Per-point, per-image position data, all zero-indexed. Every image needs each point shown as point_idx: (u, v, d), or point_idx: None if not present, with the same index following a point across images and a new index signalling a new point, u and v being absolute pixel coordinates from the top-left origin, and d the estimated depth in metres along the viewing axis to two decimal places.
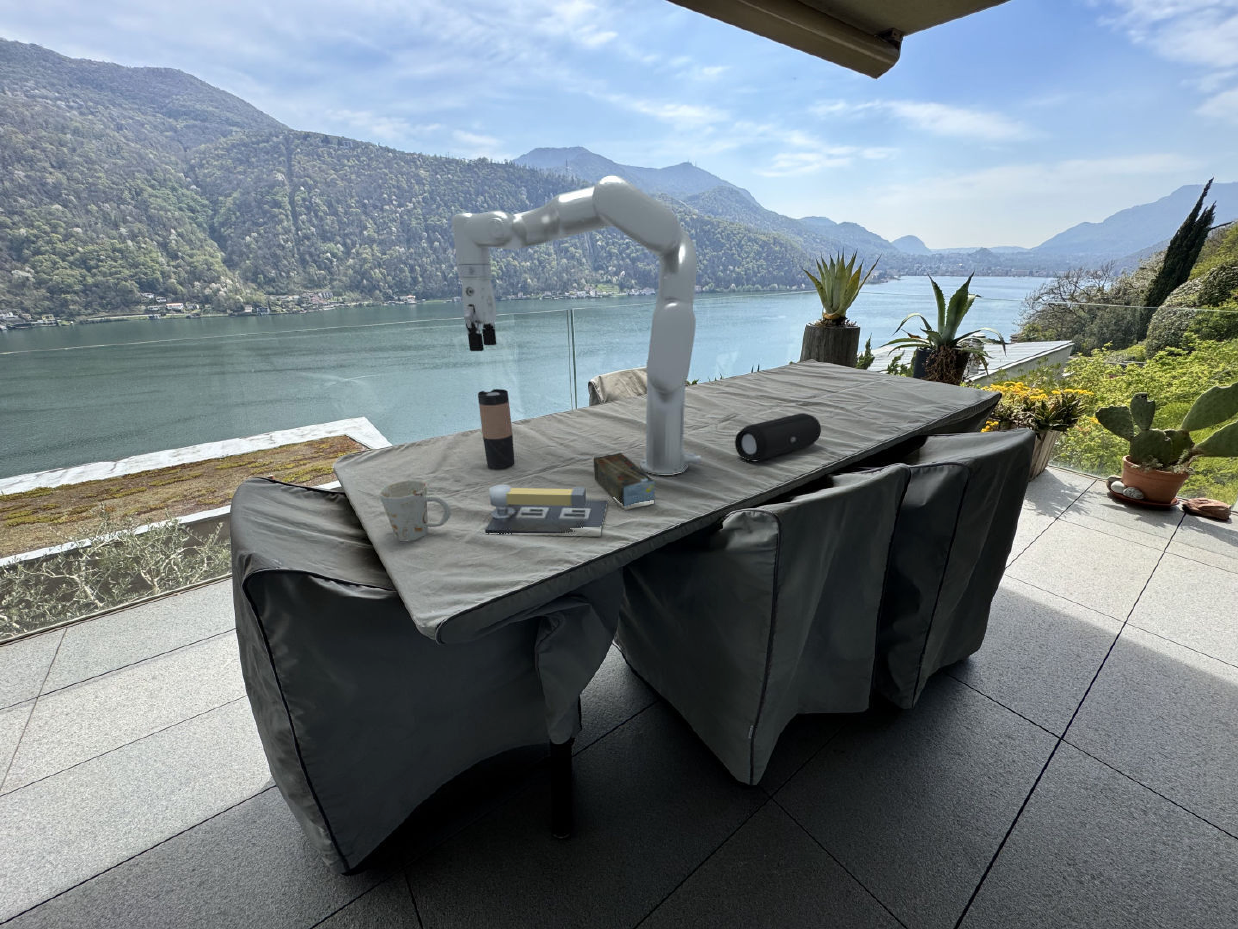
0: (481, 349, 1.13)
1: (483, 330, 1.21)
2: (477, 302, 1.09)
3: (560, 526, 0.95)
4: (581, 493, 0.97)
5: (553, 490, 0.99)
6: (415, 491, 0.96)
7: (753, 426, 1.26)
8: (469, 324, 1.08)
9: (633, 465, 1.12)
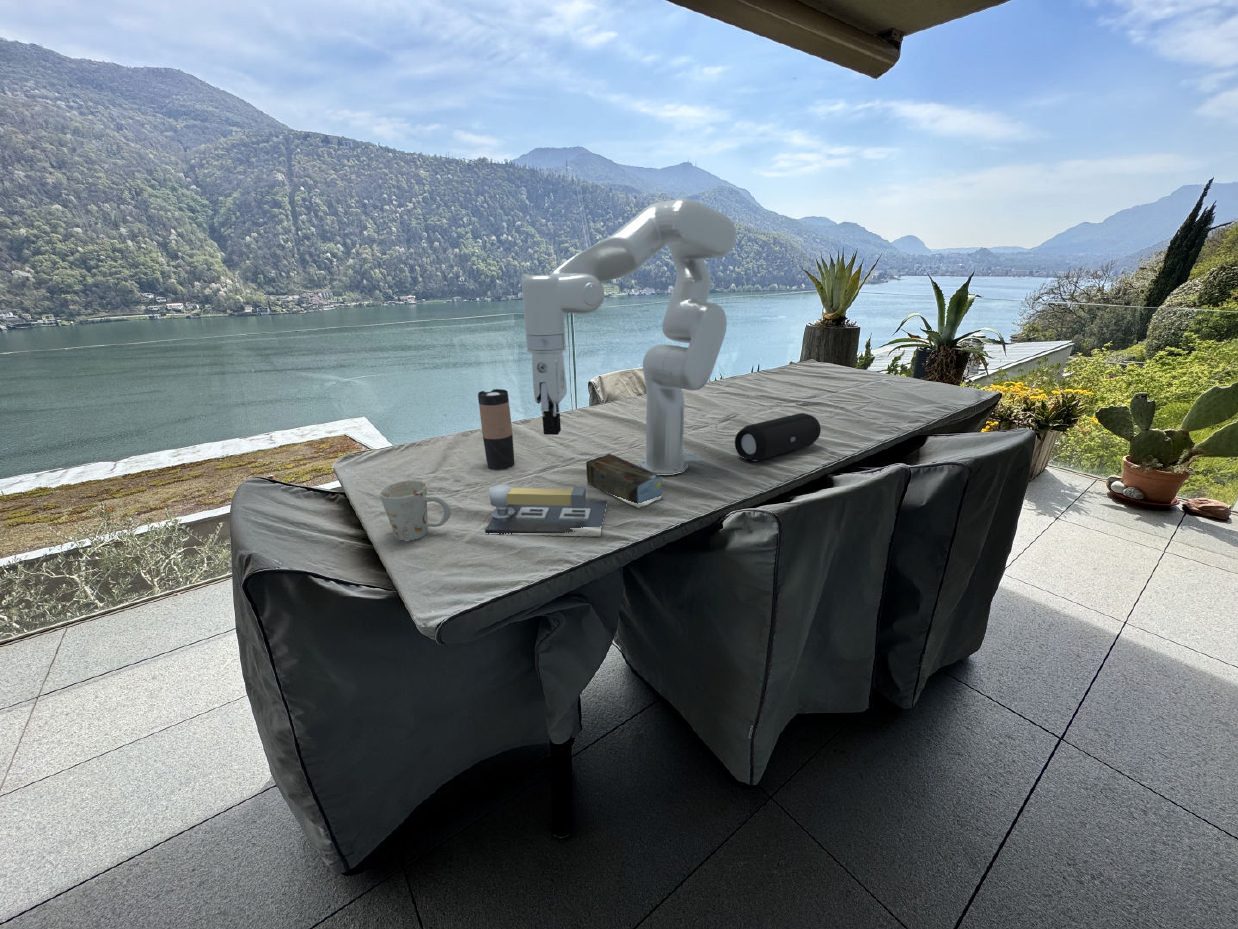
0: (557, 433, 0.99)
1: None
2: (550, 380, 0.91)
3: (560, 526, 0.95)
4: (581, 493, 0.97)
5: (553, 490, 0.99)
6: (415, 491, 0.96)
7: (753, 426, 1.26)
8: (547, 411, 0.94)
9: (631, 464, 1.13)
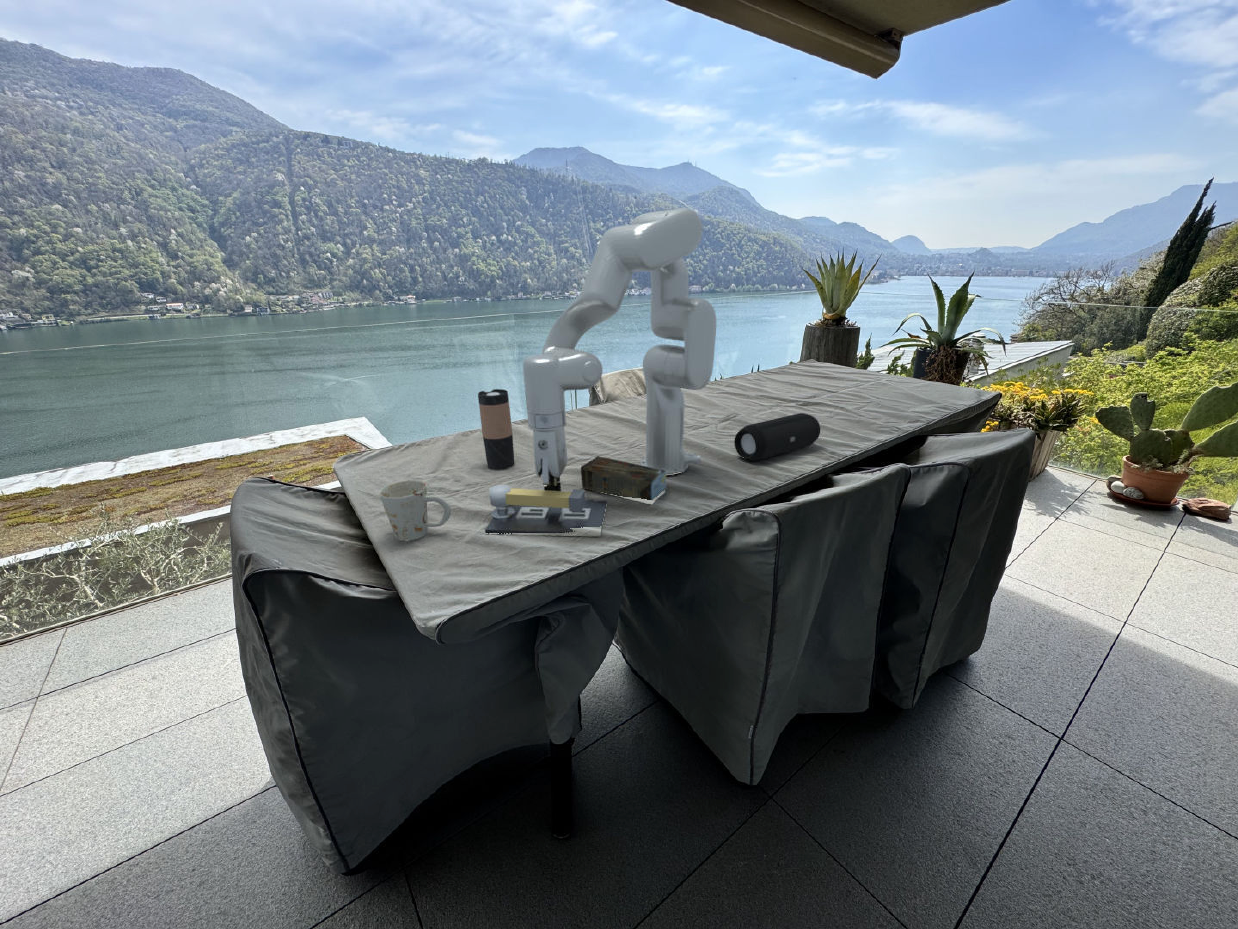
0: None
1: None
2: (551, 456, 0.93)
3: (560, 526, 0.95)
4: (579, 496, 0.95)
5: (552, 492, 0.98)
6: (415, 491, 0.96)
7: (753, 426, 1.26)
8: None
9: (628, 463, 1.13)
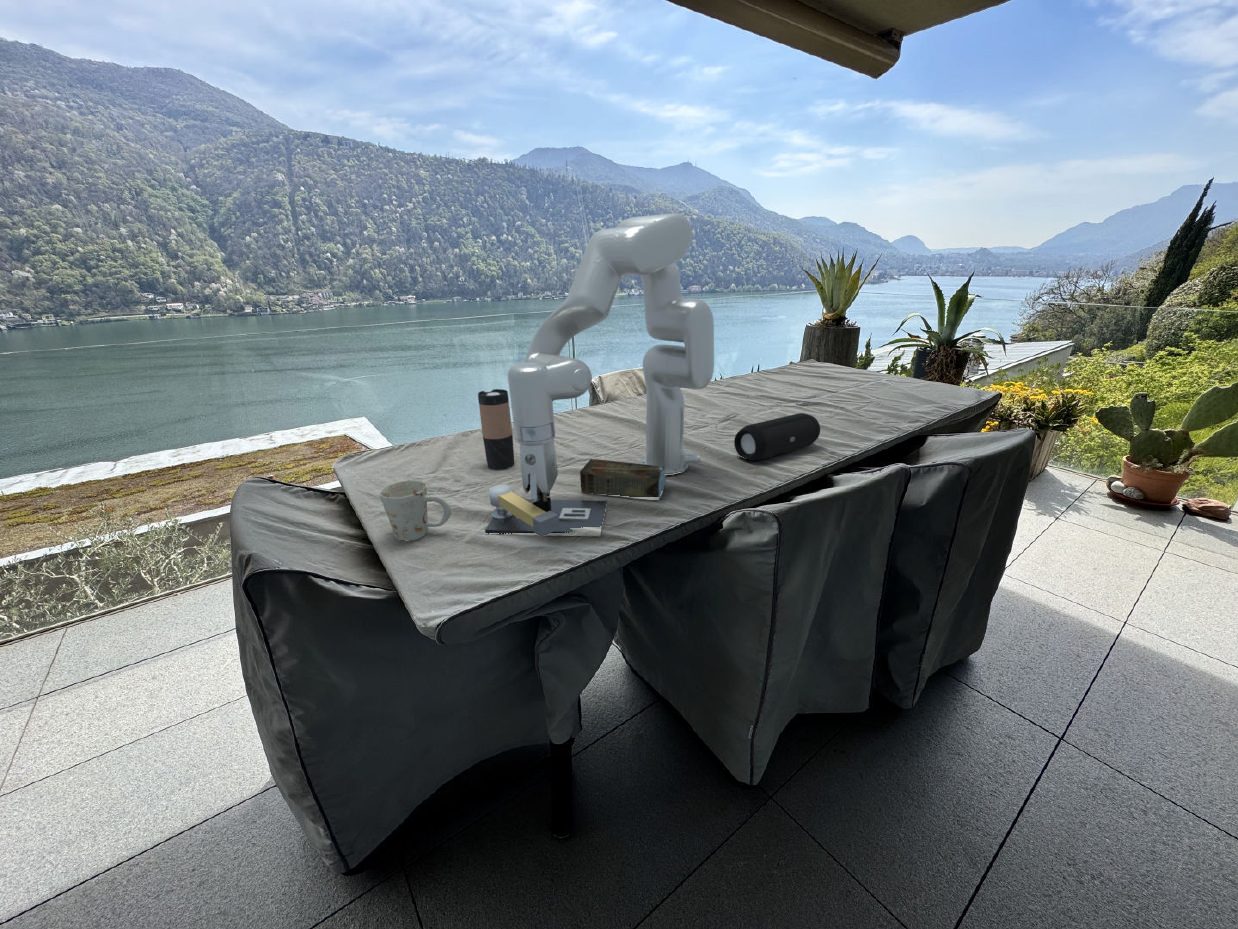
0: None
1: None
2: (539, 471, 0.87)
3: (560, 526, 0.95)
4: (542, 520, 0.86)
5: (532, 507, 0.92)
6: (415, 491, 0.96)
7: (752, 426, 1.26)
8: None
9: (625, 462, 1.14)
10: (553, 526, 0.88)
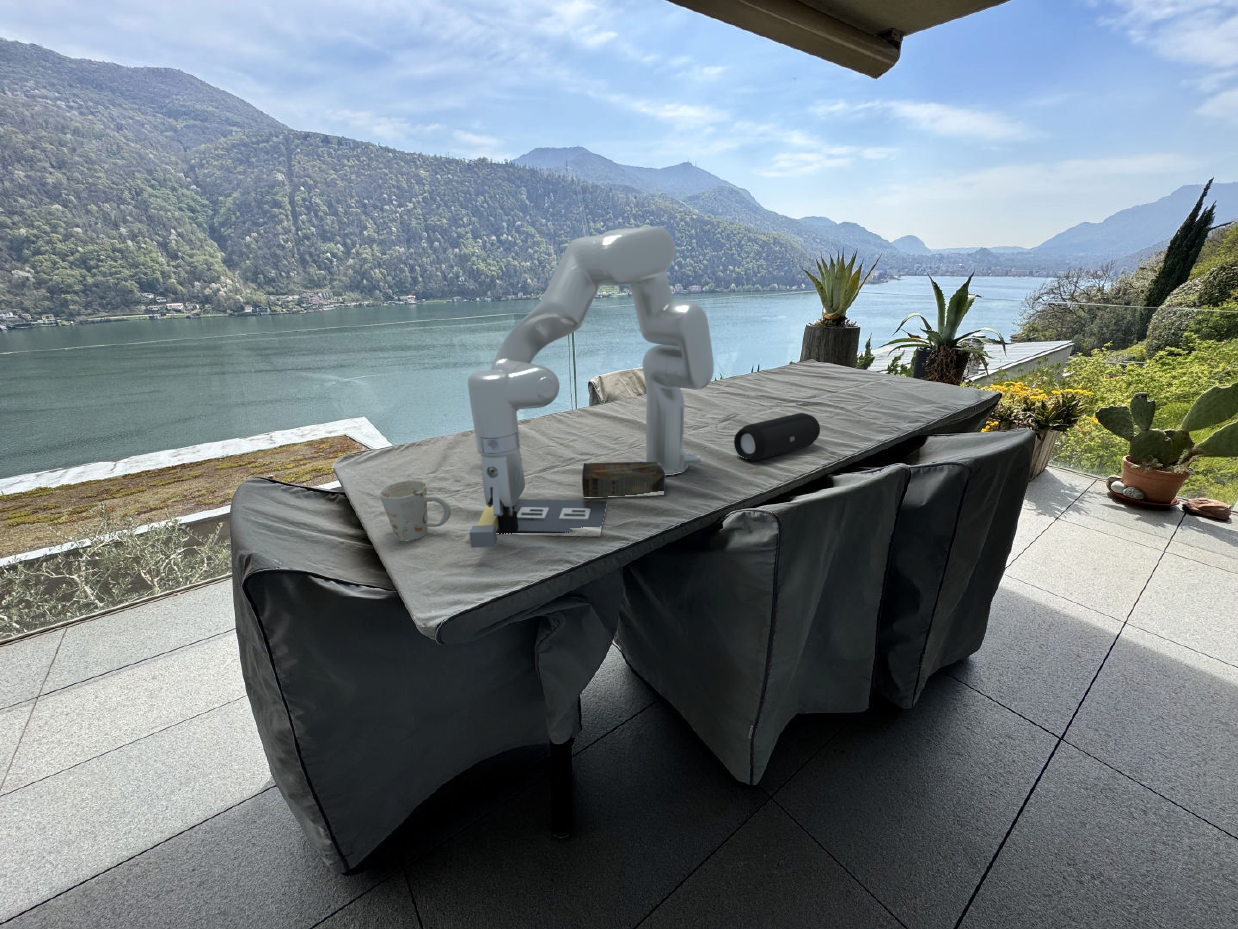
0: (514, 531, 0.91)
1: None
2: (502, 485, 0.82)
3: (560, 526, 0.95)
4: (474, 531, 0.83)
5: (492, 515, 0.89)
6: (415, 491, 0.96)
7: (752, 426, 1.26)
8: None
9: (621, 462, 1.14)
10: (487, 541, 0.83)
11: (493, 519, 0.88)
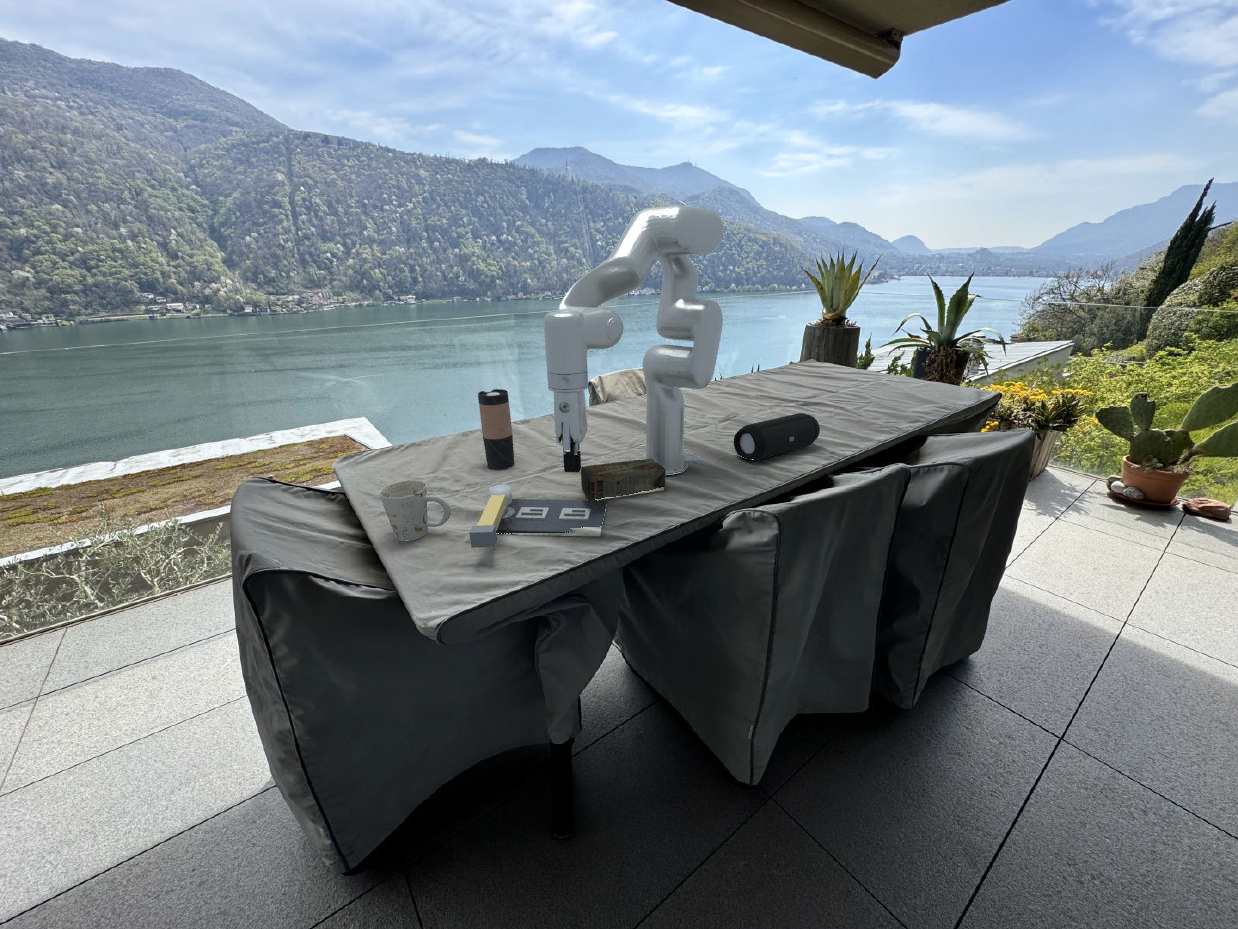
0: (578, 470, 0.95)
1: None
2: (573, 420, 0.87)
3: (560, 526, 0.95)
4: (474, 531, 0.83)
5: (492, 515, 0.89)
6: (415, 491, 0.96)
7: (752, 426, 1.27)
8: None
9: (618, 462, 1.14)
10: (487, 541, 0.83)
11: (493, 519, 0.88)
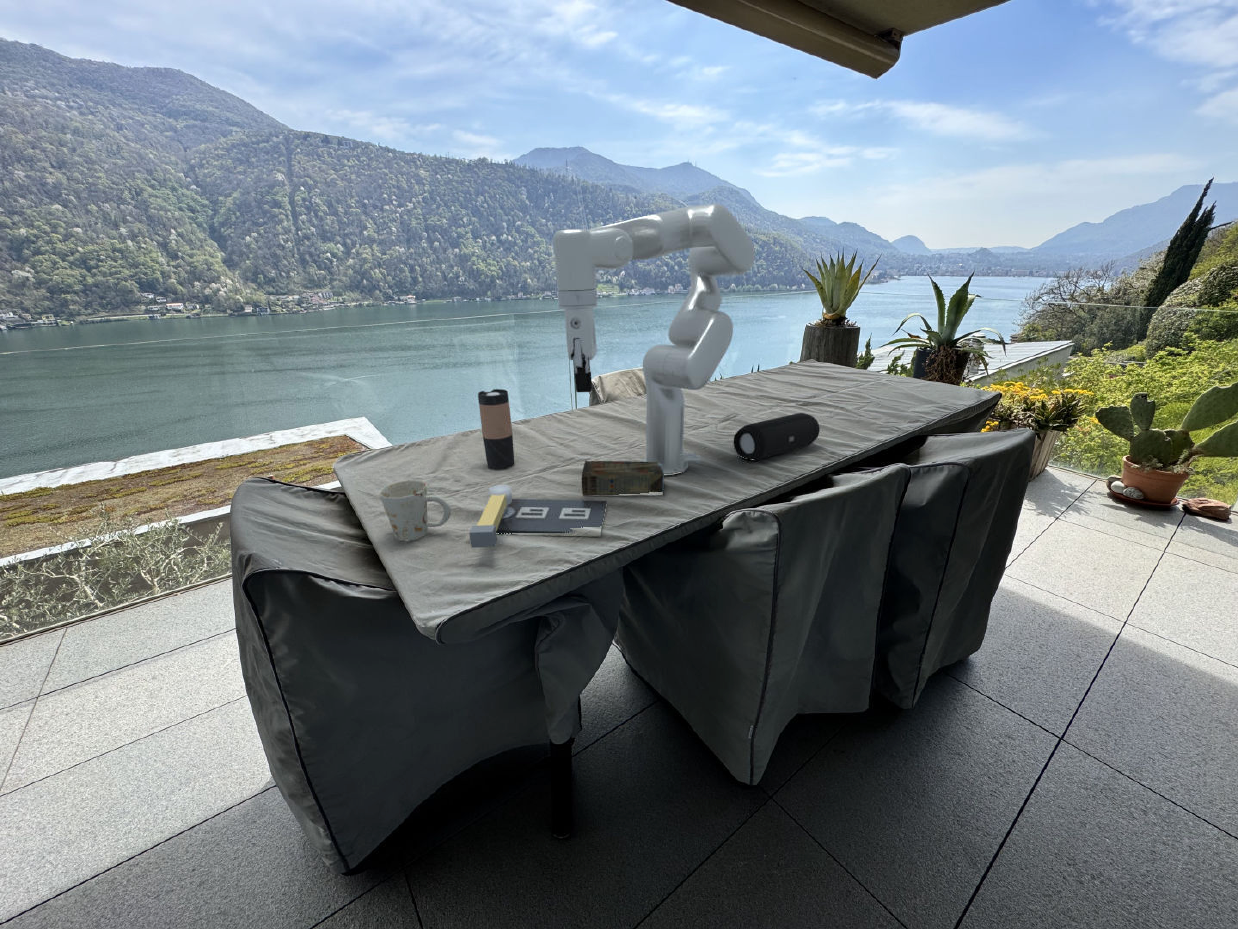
0: (589, 390, 1.00)
1: None
2: (584, 335, 0.91)
3: (560, 526, 0.95)
4: (474, 531, 0.83)
5: (492, 515, 0.89)
6: (415, 491, 0.96)
7: (752, 426, 1.27)
8: None
9: (622, 461, 1.14)
10: (487, 541, 0.83)
11: (493, 519, 0.88)
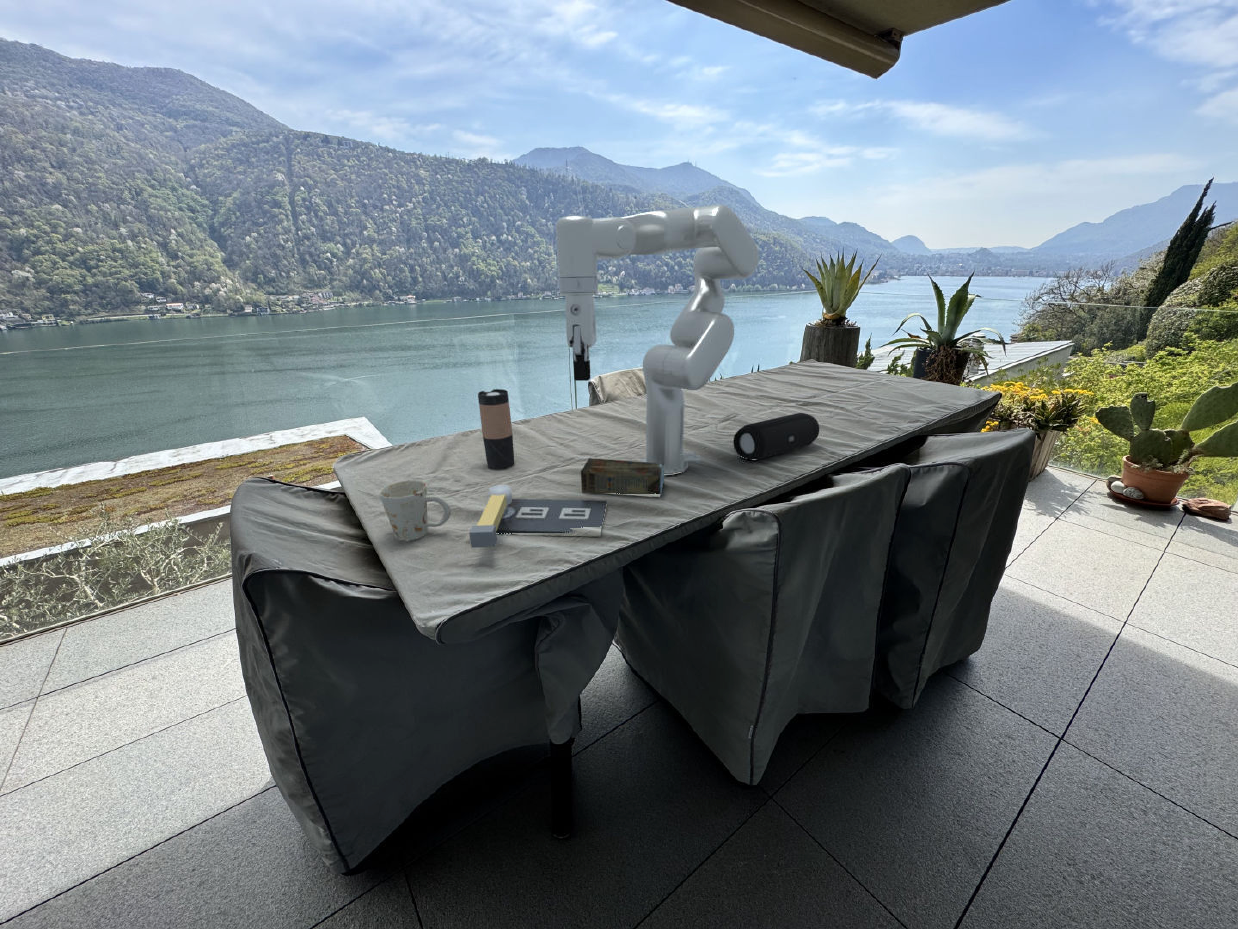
0: (587, 378, 1.00)
1: None
2: (584, 322, 0.92)
3: (560, 526, 0.95)
4: (474, 531, 0.83)
5: (492, 515, 0.89)
6: (415, 491, 0.96)
7: (751, 425, 1.27)
8: (579, 355, 0.95)
9: (624, 461, 1.15)
10: (487, 541, 0.83)
11: (493, 519, 0.88)
